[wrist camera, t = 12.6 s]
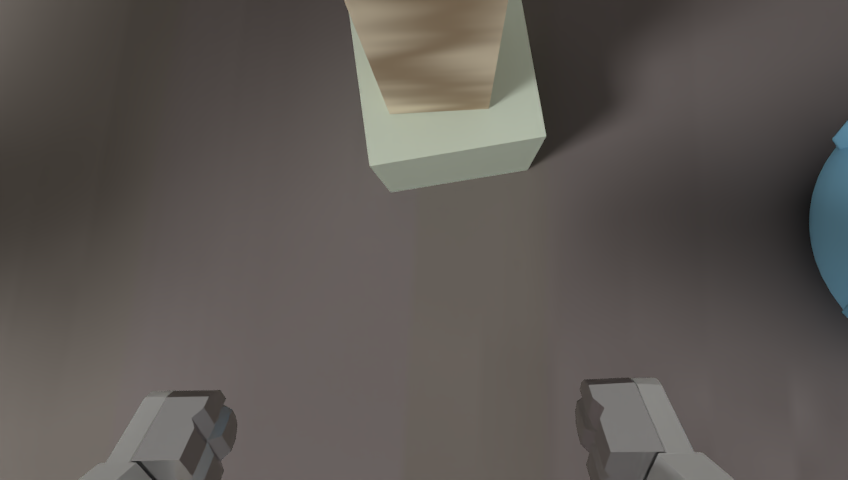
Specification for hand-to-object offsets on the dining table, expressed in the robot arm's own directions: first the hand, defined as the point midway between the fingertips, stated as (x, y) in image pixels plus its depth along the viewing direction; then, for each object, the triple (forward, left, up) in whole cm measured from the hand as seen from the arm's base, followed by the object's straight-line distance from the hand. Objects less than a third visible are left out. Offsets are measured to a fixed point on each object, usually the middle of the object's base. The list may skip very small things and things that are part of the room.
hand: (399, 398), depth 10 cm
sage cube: (-9, +9, -15) cm, 20 cm away
